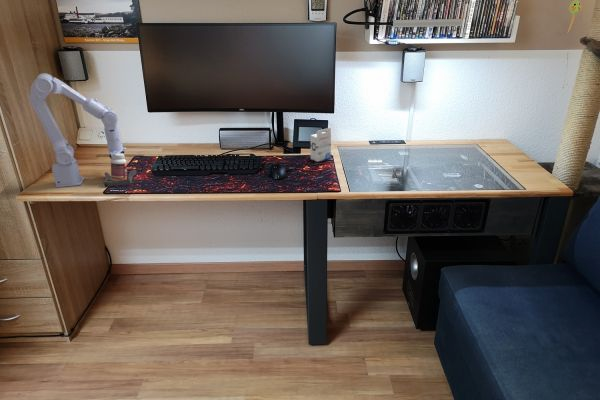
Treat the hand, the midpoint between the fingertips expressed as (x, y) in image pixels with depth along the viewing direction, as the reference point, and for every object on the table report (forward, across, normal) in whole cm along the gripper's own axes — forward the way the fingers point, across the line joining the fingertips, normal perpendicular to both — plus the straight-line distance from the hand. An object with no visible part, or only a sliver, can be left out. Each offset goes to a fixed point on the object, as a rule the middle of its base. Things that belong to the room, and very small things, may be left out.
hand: (120, 169), depth 189 cm
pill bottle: (+3, -7, 0) cm, 7 cm away
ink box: (+3, -2, -89) cm, 89 cm away
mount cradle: (+3, -6, 0) cm, 6 cm away
